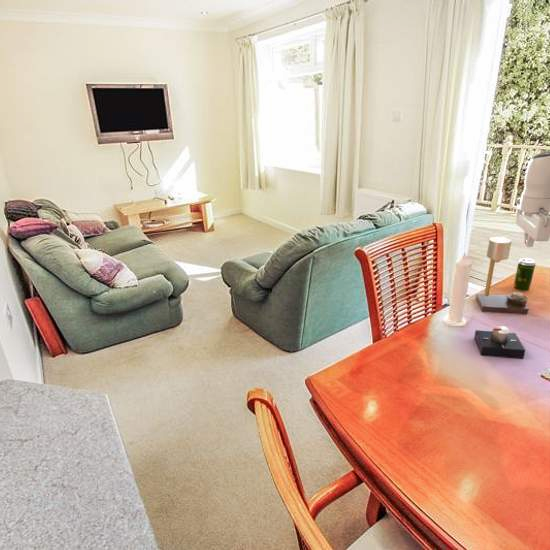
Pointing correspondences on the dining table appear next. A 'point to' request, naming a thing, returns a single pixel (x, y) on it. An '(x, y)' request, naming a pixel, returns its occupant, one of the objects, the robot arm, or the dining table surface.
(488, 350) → the dimmer panel
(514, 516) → the dining table surface
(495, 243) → the desk lamp
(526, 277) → the beer can
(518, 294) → the lamp switch
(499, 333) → the dimmer knob
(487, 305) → the lamp base
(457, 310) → the candle
